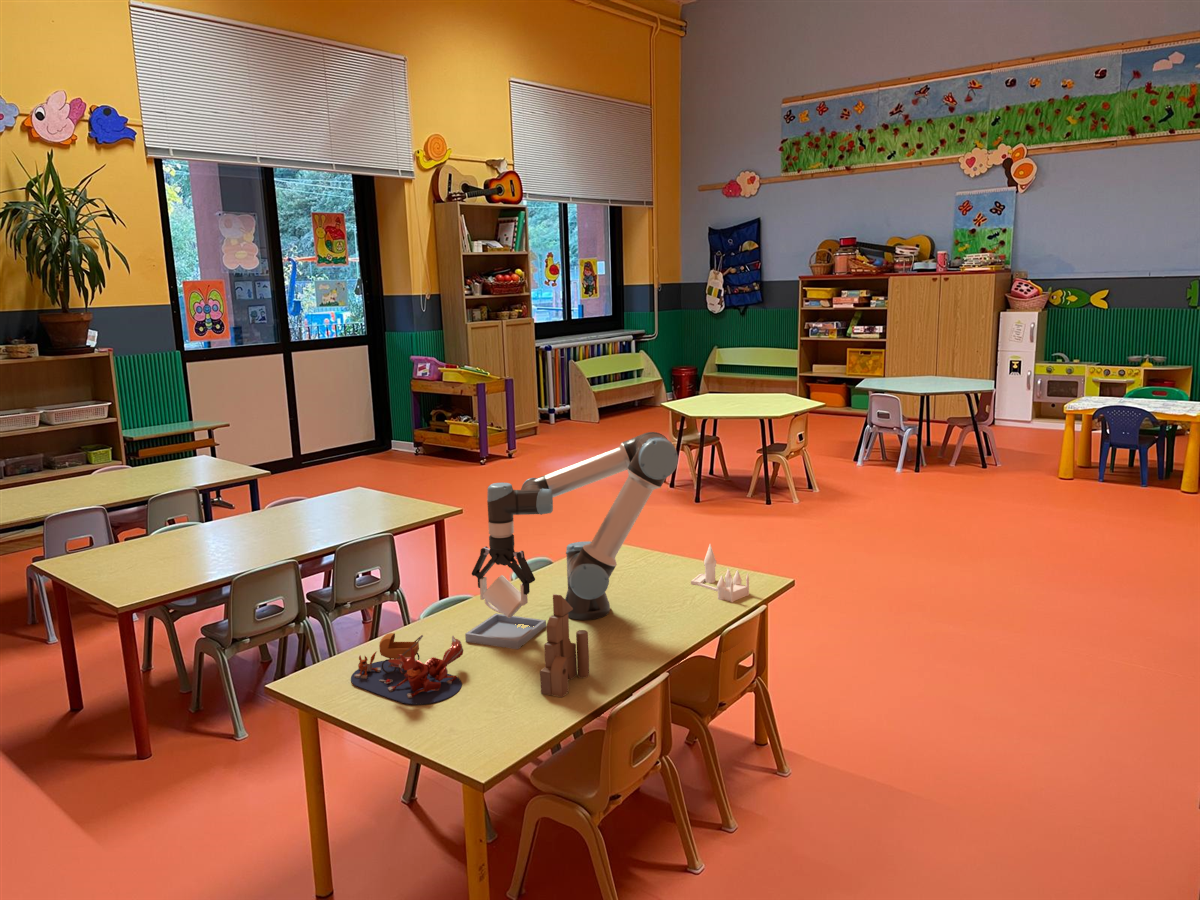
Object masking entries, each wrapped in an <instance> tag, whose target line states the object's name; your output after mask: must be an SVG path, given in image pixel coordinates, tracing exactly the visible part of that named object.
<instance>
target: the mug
mask: <svg viewBox="0 0 1200 900" xmlns="http://www.w3.org/2000/svg"><path fill="white" fill-rule="evenodd" d="M483 598H484V599H483V600H484V603H485V606H487V607H488V608H489V609H491V610H493V611H495V612H496V613H497V614H504V615H505V616H506V617H508V618H511V617H512V616H515V614H516V613H517V612H518V611H519V610H520V609H521V607H522V605H521V590H519V589H518V588H516V587H515V585H514V584H513V583H512V582H511V581H510V580H508V579H507V577H505V576H504V575H503V574H501V575H500V576H498V577H497V578H496V579H495V580H494V581H493V582H492V583H491V585H489V586H488V587H487V590H486V592H485V593H484V595H483Z"/></svg>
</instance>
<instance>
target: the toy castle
mask: <svg viewBox="0 0 1200 900" xmlns="http://www.w3.org/2000/svg"><path fill="white" fill-rule="evenodd" d="M703 563H704V568H705V569H704V573H699V574H697V576H695V577H694V578H693V579H691V580H690V585H694V586H699V587H701V588H705V589H708V590H712V591H714V592H717V600H719V601H723V600H725V601H727V602H730V603H734V602H735V601H737V600H741V599H742V598H744V597H747V596H750V578H749V572H747V573H746V578H745V582H746V583H745V585H744V584H742V581H743V580H742V578H741V575H740V573H739V570H738V569H736V571H735V574H734V576H732V575H731V571H730V568H729V567H727V570H726V573H725V576H724V577H723V575H722V574H721V575H720V578H719V580H718V581H717V584H716V587H715V586H712V585H708V584H714V583H715V582H716V566H717V560H716V557H715V553H714V551H713V548H712V545H711V544H708V548H707V551H706V554H705V557H704V561H703ZM704 583H707V584H704Z"/></svg>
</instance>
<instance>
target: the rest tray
mask: <svg viewBox="0 0 1200 900" xmlns="http://www.w3.org/2000/svg"><path fill="white" fill-rule="evenodd" d="M515 624H516V625H515ZM518 624H524V625H529V626H530V627H529V626H528V627H526V628H524V629H523V628H521V626H522V625H521V626H520V627H518V628H517V625H518ZM533 626H534V627H533ZM545 628H547V620H545V619H537V618H532V617H525V616H524V617H523V616H517V615H513V616H512V617H511V618H508V617H506V616H505V615H504V614H502V613H498V612H496V613H494V614H493V615H491V616H490V617H488V618H486V619H485V620H484V621H482V622H481V623H479V624H478V625H476V626H474V627H473V628H472V629H470V630H468V631H466V633H465V635H464V636H465V642H466V643H473V644H478V645H479V644H480V645H484V646H491V647H492V646H494V647H499V648H505V647H506V649H511V650H519V649H520V648H521V646H522V645H523V646H524V645H525V644H526V643H528V642H529V641H531V640H532V639H533V638H534V637H535V636H536V635H537V634H539V633H540V632H541V631H543V629H545ZM523 646H522V647H523Z"/></svg>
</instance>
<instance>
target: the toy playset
mask: <svg viewBox="0 0 1200 900" xmlns="http://www.w3.org/2000/svg"><path fill="white" fill-rule="evenodd" d="M423 637H424V635H423V634H422V635H420V636H419V637H417V639H415V640H414V641H395V638H396V633H394V632H393V633H392V632H390V633H387V634H385V635H384V636H382V638H381V640H380V641H379V648H378V649H379V654H380V656H382V657H385V658H387V659H384V660H380V661H375V658H376V655H377V652H378V651H374V653H373V654H372V655H371V657H370V661H369V659H368V657H367V656H366V655H364V659H362V656H361V654H360V655H359V657H358V660H359V663H358V665H357V667H358V668H357V669H356V670H355V671H354V672H353V673H352V674H351V677H350V681H351V683H352V684H353V686H355V687H358V688H360V689H362V690H366V691H368V692H371V693H373V694H376V695H379V696H381V697H384V698H387V699H390V700H393V701H395V702H396V701H397V702H399V703H401V704H405V705H413V706H414V705H420V706H421V705H427V704H428V705H429V704H434V703H435V704H436V703H439V702H441V701H445V700H447V699H449V698H451V697H454V696H455V695H457V694H458V693H459V692H460V691H461V689H462V687H463V686H462V685H463V684H462V680H461V678H459V677H458V675H454V674H450V673H448V672H449V671H448V669H447V667H448V665H449V664H451V663H453V662H455V661H456V660H457V659H459V658H460V657H462V656H463V653H464V648H463V645H462V641H461V640H459V638H458V639H457V638H455V636H454V635H452V636H451V644H450V647H448V649H447V650H446V651H445V652H444V654H443V657H442V659H441V658H438V657H435V656H432V657H430V658H429V659H427V661H425V662H424V663H423V662H421V661H420V654H419V651H420V644H419V642H420V641H421V640H422V638H423ZM416 655H417V658H416ZM368 661H369V663H368ZM374 661H375V662H374Z"/></svg>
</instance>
